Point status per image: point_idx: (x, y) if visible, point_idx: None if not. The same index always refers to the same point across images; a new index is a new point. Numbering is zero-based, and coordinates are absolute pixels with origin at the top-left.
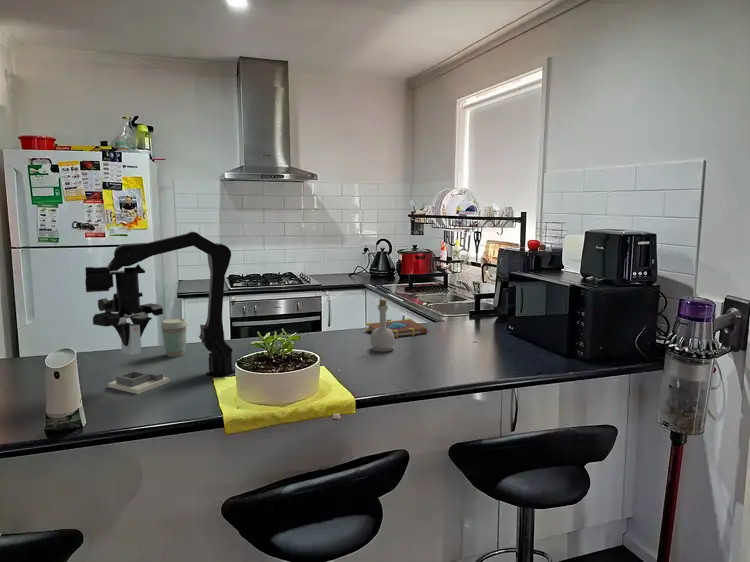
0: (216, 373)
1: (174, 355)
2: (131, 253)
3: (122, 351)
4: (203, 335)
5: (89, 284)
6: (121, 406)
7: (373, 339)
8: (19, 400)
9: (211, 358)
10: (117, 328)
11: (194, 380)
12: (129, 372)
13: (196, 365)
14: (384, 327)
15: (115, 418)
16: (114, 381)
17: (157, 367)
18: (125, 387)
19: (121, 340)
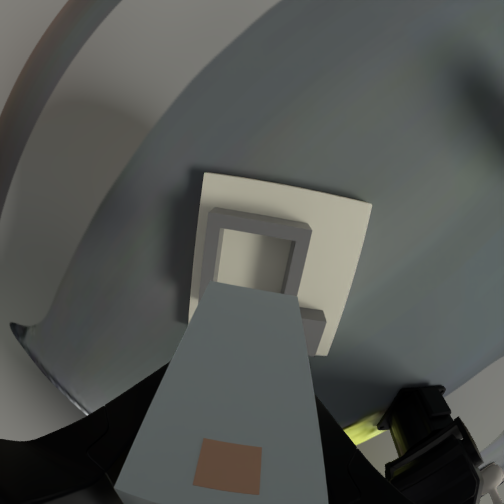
0: (390, 417)
1: None
2: None
3: (206, 291)
4: (415, 502)
5: None
6: (109, 337)
7: (484, 482)
8: (55, 39)
9: (410, 437)
10: (52, 460)
11: (351, 393)
12: (279, 230)
13: (479, 309)
14: (489, 493)
15: (72, 361)
16: (230, 180)
17: (460, 194)
18: (192, 275)
19: (182, 340)
